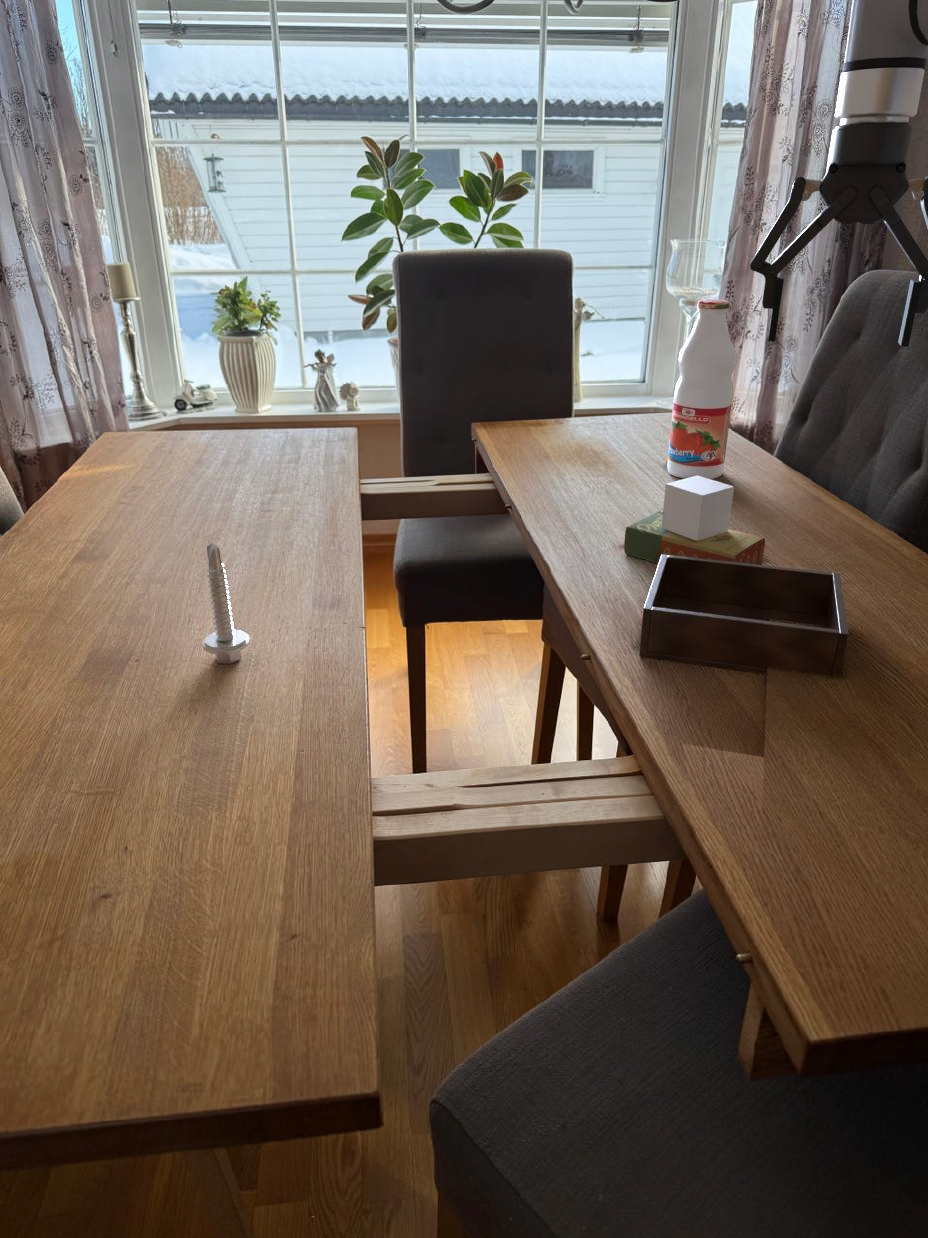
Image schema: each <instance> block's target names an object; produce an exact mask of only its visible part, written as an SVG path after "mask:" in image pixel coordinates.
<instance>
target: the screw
mask: <svg viewBox="0 0 928 1238" xmlns="http://www.w3.org/2000/svg"><path fill="white" fill-rule="evenodd" d="M206 552H207V560H208V569H206V572H208V574H206V575H207V576H206V577H207V578H208V581H207V583H209V586H208V588H209V589H210V591H209V594H211V596H210V599H211V600H212V601H210V604H212V605H213V606H212V607H211V610H213V612H212V615H214V617H213V620H214V626H215V627H214V630H215V631H213V632H212V633H210V634H207V636H206V637H205V638H204V639H203V640H202V643H201V644H202V649H203V650H204V651H205V652H207V653H210V654H213V655H215V658H216V662H217V664H228V665H231V664H233V663H235V662H238V661H240V660H242V654H241V651H243V650H244V649H246V648H247V647H248V646H249V645H250V643H251V636H250V635H249V634H248V633H247V632H245V631H243V630H241V629H235V628H234V622H233V617H232V615H233V613H232V607H231V602H230V598H231V597H230V596H229V594H230V592H229V586H228V585H227V584H228V580H227V575H226V573H227V572H226V570H225V569H224V568H225V564H224V563H222V558H221V552H220V547H219V546H217V544H215V543H213V542H212V543H210V544H208V545H207V546H206Z"/></svg>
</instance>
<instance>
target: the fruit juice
mask: <svg viewBox="0 0 928 1238" xmlns="http://www.w3.org/2000/svg"><path fill="white" fill-rule="evenodd" d="M729 309H730V300H727V299H717V298H706V299H704V298H703V299H699V300H698V301H697V304H696V311H697V312H698V315H697V317H696V320H695V323H694V324H693V327H692V330H691V333H690V334H689V336H688V338H687V340H686V341H685V343H684V344H683V346H682V347H681V349H680V350H679V354H678V360H677V361H678V362H677V363H678V370H679V378H678V379H677V382H676V384H675V387H674V393H673V401H672V413H671V422H670V423H671V424H670V432H669V441H668V442H669V444H668V453H667V463H666V467H667V471H668V473H669V474H670V475H672V476H673V477H677V478H680V479H686V478H689V477H693V476H697V475H698V476H701V477H704V478H708V479H711V480H715V479H718V478H720V476H722V475H723V473H724V468H725V461H726V452H727V445H728V438H729V436H728V435H729V430H730V429H729V428H730V421H731V413H732V406H733V398H734V397H733V396H734V385H733V383H732V376H733V373H734V370H735V368H736V365H737V351H736V348H735V346H734V344H733V342H732V340H731V335H730V331H729V325H728V321H727V314H728V312H729V311H730V310H729Z"/></svg>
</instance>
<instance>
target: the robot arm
mask: <svg viewBox="0 0 928 1238" xmlns="http://www.w3.org/2000/svg"><path fill="white" fill-rule="evenodd" d="M845 47H846V48H845V54H844V60H843V62H844V63H843V65H842V72H841V75H840V81H839V87H838V95H837V101H836V108H835V113H834V117H835V119H836V120H837V121H840V122H839V125H836V126H835V128H834V129H833V130H832V133H831V140H830V147H829V152H828V159H827V166H826V171H825V174H824V176H823V178H822V179H821V180H818V179H810V178H805V177H803V176H798V177H796V178H795V179H794V181H793V184H792V188H791V191H790V196H789V199H788V201H787V203H786V205H785V206H784V207H783V210H782V211H781V212H780V214H779V216H778V218H777V219H776V221H775V223H774V224H773V226H772V227H771V229H770V231H769V232H768V234H766V235H767V236H766V237H765V239H764V240H763V242H762V243H761V245H760V247H759V249H758V250H757V251H756V252H755V255H754V257H753V258H752V259H751V261H750V264H749V268H750V270H751V271H752V272H756V273H757V274H761V275H762V276H763V277H764V289H763V296H762V309H766V310H768V309H769V310H770V309H771V317H770V323H769V330H768V338H767V342H776V339H777V337H776V336H777V333H778V325H779V317H780V310H781V303H782V297H783V290H784V281H785V277H784V276H779V274H780V273H781V272H782V271H783V270H784V269H785V268H786V267H787V266H788V265H789V264H790V263H791V262H792V261H793V260H794V259H795V258H796V257H797V256H798V255H799V254H800V252H802V251H803V250H804V249H805V248H806V247H807V245H808V244H810V243H811V242H812V240H814V239H815V238H816V237H817V235H818V234H820V232H821V231H823V229H824V228H826V227H827V226H828V224H829V223H831V222H832V220H834V221H835V222H836V223H838V224H840V225H852V224H855V223H859V224H863V225H874V224H876V223H877V224H878V222H880V221H883V222H884V225H885V226H886V227H887V228H888V230H889V232H891V234H892V236H893V237H894V239H895V241H896V242H897V243H898V245H899V247H900V248H901V250H902V251H903V253H904V254H905V256H906V258H907V259H908V261H909V262H910V263H911V265H912V267H913V268H914V270H915V271H916V273H917V274H918V275H919V277H918V279H910V282H909V287H908V291H907V296H906V301H905V306H904V311H903V316H902V321H901V326H900V332H899V336H898V340H897V343H898V345H899V346H900V347H905V348H908V347H909V346H910V341H911V337H912V333H913V326H914V323H915V317H916V314H925V313H926V311H927V310H928V259H927V257H926V256H925V254H924V252H923V251H922V249H921V248H920V247H919V245H918V243H917V242H916V240H915V239H914V237H913V235H912V234H911V232H910V231H909V228H907V226H906V225H905V223H904V222H903V220H902V218H901V216H900V215H899V213H898V212H897V210H896V209H895V206H896V204H897V203H899V201H900V200H901V199H902V198H903V197H904V196H905V194H906V193H907V192H908V191H909V192H910V193H911V194H912V197H913V199H914V200H916V201H919V202H920V207H921V211H922V214H923V218H924V221H925V225H926V228H927V229H928V175H926V176H924V177H920V178H912V179H908V176H907V166H908V161H909V155H910V151H911V146H912V145H911V144H912V140H913V134H914V129H915V127H913V124H912V123H910V119H912V118H914V117H915V116H916V115H917V114H918V108H919V104H920V98H921V92H922V87H923V82H924V76H925V69H926V64H927V60H928V0H852V1H851V7H850V15H849V24H848V33H847V40H846V46H845ZM816 192H818V193H819V195H820V197H821V199H822V201H823V203H824V204H825V208H824V209H823V210H822V211H821V212H820V213H819V214H818V215H817V216H816V217H815V218H814V219H813V220H812V221H811V222H810V224H808V225H807V226H806V228H805V229H804V230H803V231H802V232H800V234H799V235H798V236H796V238H795V239H794V240H792V242H791V243H789V244H788V246H787V247H786V248H785V249H784V250H783V251H782V252H781V253H780V254H779V255H778V256H777V257H776V258H775V260H773V261H772V262H768V261H766V260H767V259H768V257H769V256H770V254H771V252H772V251H773V249H774V248H775V246H776V245H777V243H778V241H779V240H780V238H781V237H782V235H783V233H784V231H785V230H786V229H787V227H788V225H789V224H790V222H791V220H792V219H793V217H794V216H795V214H796V212H797V211H798V209H799V207H800V205H801V202H806V201H809V199H810V198H811V196H812V194H814V193H816Z"/></svg>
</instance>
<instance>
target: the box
mask: <svg viewBox="0 0 928 1238" xmlns="http://www.w3.org/2000/svg"><path fill="white" fill-rule="evenodd" d="M846 613H847V612H846V607H845V598H844V592H843V585H842V577H841V573H839V572H832V571H831V572H830V571H824V570H823V571H821V570H812V569H805V568H795V567H794V568H793V567H784V566H775V565H768V564H767V565H765V564H762V565H758V564H749V563H739V562H730V561H721V560H711V559H702V558H693V557H684V556H674V555H665V554H662V555H661V558H660V561H659V563H657V567H656V570H655V573H654V576H653V579H652V582H651V585H650V588H649V591H648V594H647V597H646V599H645V603H644V606H643V609H642V619H641V630H640V631H641V632H640V642H639V652H638V653H639V654H638V657H640V658H641V657H642V658H648V659H655V660H662V661H668V662H669V661H670V662H677V663H684V664H692V665H697V666H704V667H705V666H706V667H713V668H718V669H719V668H720V669H727V670H733V671H739V672H740V671H741V672H747V673H754V674H755V673H756V674H761V675H768V667H769V668H770V667H771V668H778V669H784V670H790V671H791V670H793V671H799V672H805V673H814V674H819V675H826V676H827V675H828V676H836V677H841V673H842V669H843V664H844V658H845V655H846V651H847V643H848V639H849V627H848V621H847V620H848V619H847V614H846ZM771 620H772V621H771ZM778 621H780V622H778ZM784 622H786V623H784ZM787 622H788V623H787ZM794 623H795V624H794ZM796 623H797V624H796ZM802 624H803V625H802ZM818 626H819V627H818ZM825 627H826V628H825Z"/></svg>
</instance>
